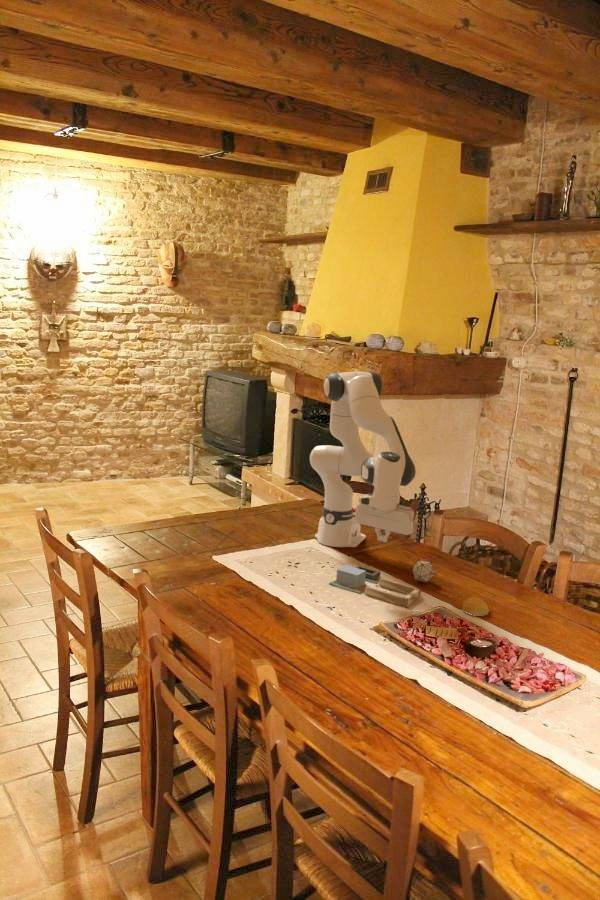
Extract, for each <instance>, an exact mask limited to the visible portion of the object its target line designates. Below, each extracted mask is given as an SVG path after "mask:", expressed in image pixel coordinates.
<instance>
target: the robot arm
mask: <svg viewBox="0 0 600 900" xmlns="http://www.w3.org/2000/svg"><path fill="white" fill-rule="evenodd" d="M323 391H324V396H325V397H326V399H327V400H328V401H331V404H330V416H329V417H330V418H329V431H330V434H331V435H332V436H333V437H334V438H336V440H338V441H340V443H341V444H342V446H340V445H338V446H337V445H331V444H329V445H328V444H326V445H323V444H322V445H316V446H315V447H313V449H312V450H311V452H310V453H309V463H310V466H311V467H312V469H313V470H315V472H317V474H318V475H319V476H320V479H321V481H322V483H323V486H324V487H323V488H324V505H323V507H322V516H321V517H320V518H319V523H318V528H317V529H318V530H317V533H315V534H314V537H315V538H316V540H317V542H318V543H320V544H321V545H324V546H326V547H327V546H328V547H333V548H334V547H335V548H356V547H357V546H359V545H360V544H361V543H362V542H363V541H364V540H365V539H366V538H367V537H366V535H365V534H363V533H361V527H362V526H361V525H364V526H368V527H373V528H374V532H375V534H376V537H377V539H376V540H377V541H378V542H383V543H387V542H388V538H389V536H390V534H392V532H393V533H395V534H400V535H404V536H409V535H411V534H412V533H414V532H413V531H414V518H415V511H414V509H412V508H411V507H410V506H406V505H403V504H400V499H401V497H400V496H401V490H400V487H401V486H402V487H407V486H408V485H410V483H412V482H413V480H414V479H415V477H416V472H417V471H416V466H415V463H414V461H413V460H412V458H411V456H410V455H409V453H408V451H407V450H408V449H407V447H406V445H405V443H404V441H403V438H402V437H403V436H401V435H402V434H401V432H400V430H399V428H398V425H397V423H396V421H395V420H394V418H393V417H392V416H390V415H389V414H388V413H387V411H385V409H384V407H383V406H382V404H381V399H380V396H381V394H382V393H383V380H382V377H381V376H380V374H379V373H377V372H375V371H367V372H366V371H360V370H359V371H356V370H355V371H354V370H353V371H344V372H332V373H329V374H327V376H325V378H324V382H323ZM359 427H360V428H361V429H363V430H366V431H369V432H372V433H375V434H377V435H379V436H381V437H382V438H384V439H385V441H386V443H387V445H388V447H389V450H390V451H380V452H379V453H378V454H377V455H376V456H374V455H373V453H371V451H369V450H368V448H367V447H366V446H365V445H364V443H363V442H362V440H361V437H360V432H359V431H360V428H359ZM341 475H343V476H348V477H349V476H350V477H357V478H358V477H360V478H361V479H362V480H363V481H364V483H366V484H368V485H369V486H373V487H374V488H373V491H372V493H366V494H364V495H362V496H359V498H358V504H357V505H356V507H354V506H353V499H354V498H353V497H354V491H353V488H352V487H351V486H350V485H349V484H348V483H347V482H345V481H343V479H342V478H341ZM354 513H355V515H354ZM381 530H384V533H385V534H384V535H383V534H382V532H381Z"/></svg>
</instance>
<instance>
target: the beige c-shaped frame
mask: <svg viewBox="0 0 600 900" xmlns="http://www.w3.org/2000/svg"><path fill="white" fill-rule="evenodd" d="M378 580H379V581H378V587H383V588H386V589H389V590H393V591H395V592H399V593H402V594H406V595H405V596H401V595H399V594H394V593H391V592H388V591H385V590H381V589H378V588H374V587H371V586H369V585H367V586H365V588H364V595H365V596H366V595H367V596H370V597H372V598H376V599H378V600H379V599H380V600H383V601H385V602H389V603H392V604H396V605H399V606H402V607H405V608H406V607H408V606H409V605H410V604H412V603H413V602H415V601H416V600H417V599H419V598H420V597H421V595H422V594H421V593H422V589H421V588H418V587H414V586H410V585H407V584H404V583H400V582H396V581H394V580H390V579H386V578H384V577H381V578H380V577H379V578H378Z"/></svg>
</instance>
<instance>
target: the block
mask: <svg viewBox="0 0 600 900" xmlns="http://www.w3.org/2000/svg"><path fill="white" fill-rule="evenodd" d="M355 567H356V566H350V565H347V564H345V565H342V566H341V567H339V568H337V569H336V578H335V580H336V583H335V584H338V585H341V586H345V585H346V586H345V587H348V588H351V589H354V590H357V589H359V588H360V587H362V586H364V585H365V584H366V581H365V577H366V571H365V570H362V569H358V568H355Z"/></svg>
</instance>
